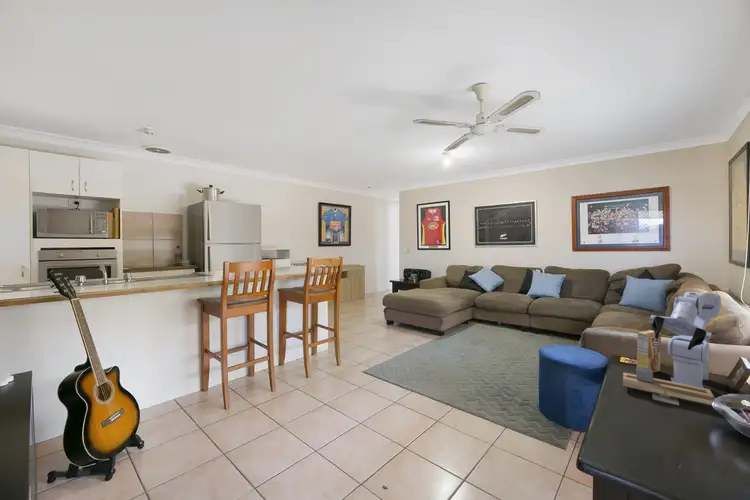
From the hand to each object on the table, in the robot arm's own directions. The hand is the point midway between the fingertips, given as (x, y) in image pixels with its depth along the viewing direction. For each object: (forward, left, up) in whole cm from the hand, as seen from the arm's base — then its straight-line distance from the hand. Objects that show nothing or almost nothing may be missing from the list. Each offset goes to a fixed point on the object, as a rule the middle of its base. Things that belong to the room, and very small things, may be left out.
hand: (672, 341), depth 98 cm
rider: (-4, -6, -16) cm, 17 cm away
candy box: (-31, -4, -19) cm, 37 cm away
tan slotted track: (-4, -1, -19) cm, 20 cm away
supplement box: (-34, +9, -19) cm, 40 cm away
